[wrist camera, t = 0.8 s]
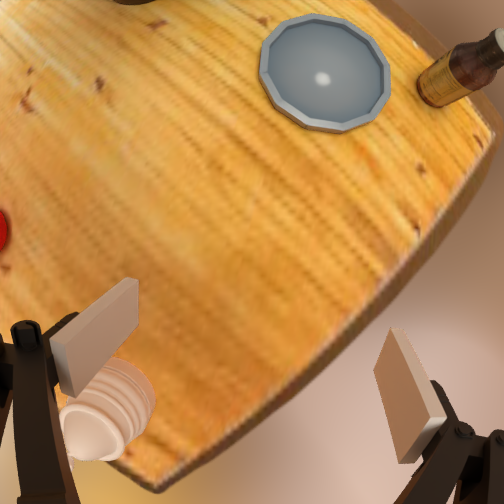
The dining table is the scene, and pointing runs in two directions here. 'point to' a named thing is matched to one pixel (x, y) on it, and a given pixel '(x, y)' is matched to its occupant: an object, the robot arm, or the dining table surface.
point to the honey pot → (107, 413)
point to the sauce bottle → (462, 70)
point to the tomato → (2, 230)
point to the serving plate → (324, 73)
